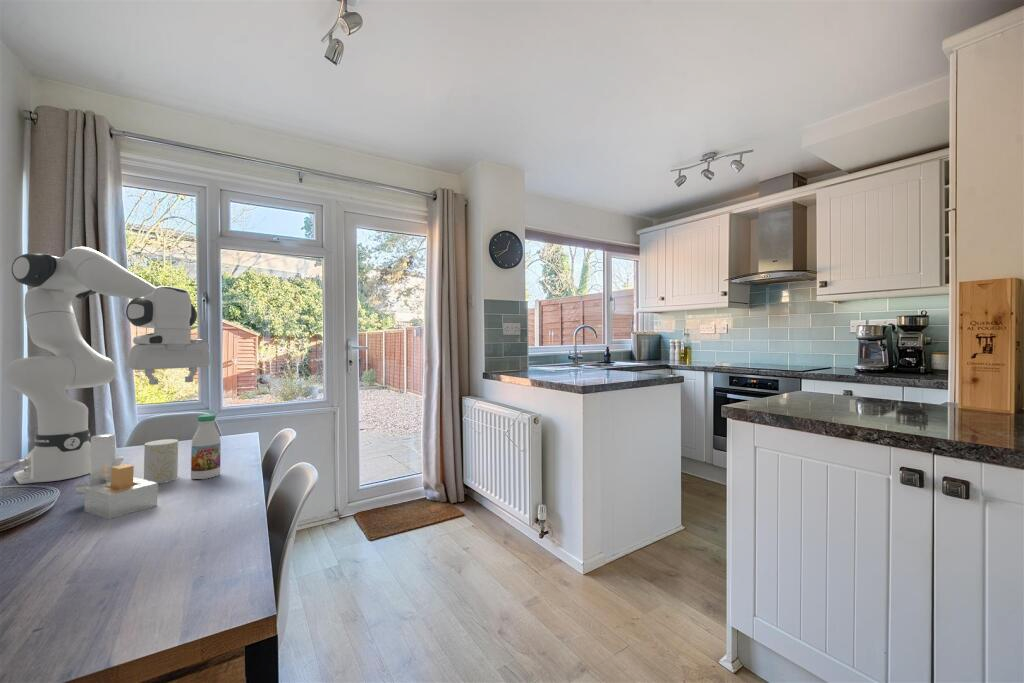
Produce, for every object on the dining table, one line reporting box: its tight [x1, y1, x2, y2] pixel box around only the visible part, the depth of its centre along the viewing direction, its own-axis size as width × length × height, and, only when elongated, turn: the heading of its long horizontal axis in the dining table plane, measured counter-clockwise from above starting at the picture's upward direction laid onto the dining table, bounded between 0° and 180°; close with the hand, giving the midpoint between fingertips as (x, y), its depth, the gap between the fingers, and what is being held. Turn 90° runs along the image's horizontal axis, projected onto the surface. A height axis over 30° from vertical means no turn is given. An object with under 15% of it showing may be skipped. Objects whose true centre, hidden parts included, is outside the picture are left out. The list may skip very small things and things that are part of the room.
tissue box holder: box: [75, 433, 159, 520], centre depth 110 cm, size 21×10×18 cm, turn 66°
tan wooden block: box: [111, 463, 135, 490], centre depth 108 cm, size 4×3×11 cm
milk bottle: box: [190, 414, 222, 480], centre depth 134 cm, size 8×8×20 cm
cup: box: [143, 438, 179, 484], centre depth 130 cm, size 8×8×12 cm
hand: (171, 383), depth 127 cm, fingers open, 8 cm apart
